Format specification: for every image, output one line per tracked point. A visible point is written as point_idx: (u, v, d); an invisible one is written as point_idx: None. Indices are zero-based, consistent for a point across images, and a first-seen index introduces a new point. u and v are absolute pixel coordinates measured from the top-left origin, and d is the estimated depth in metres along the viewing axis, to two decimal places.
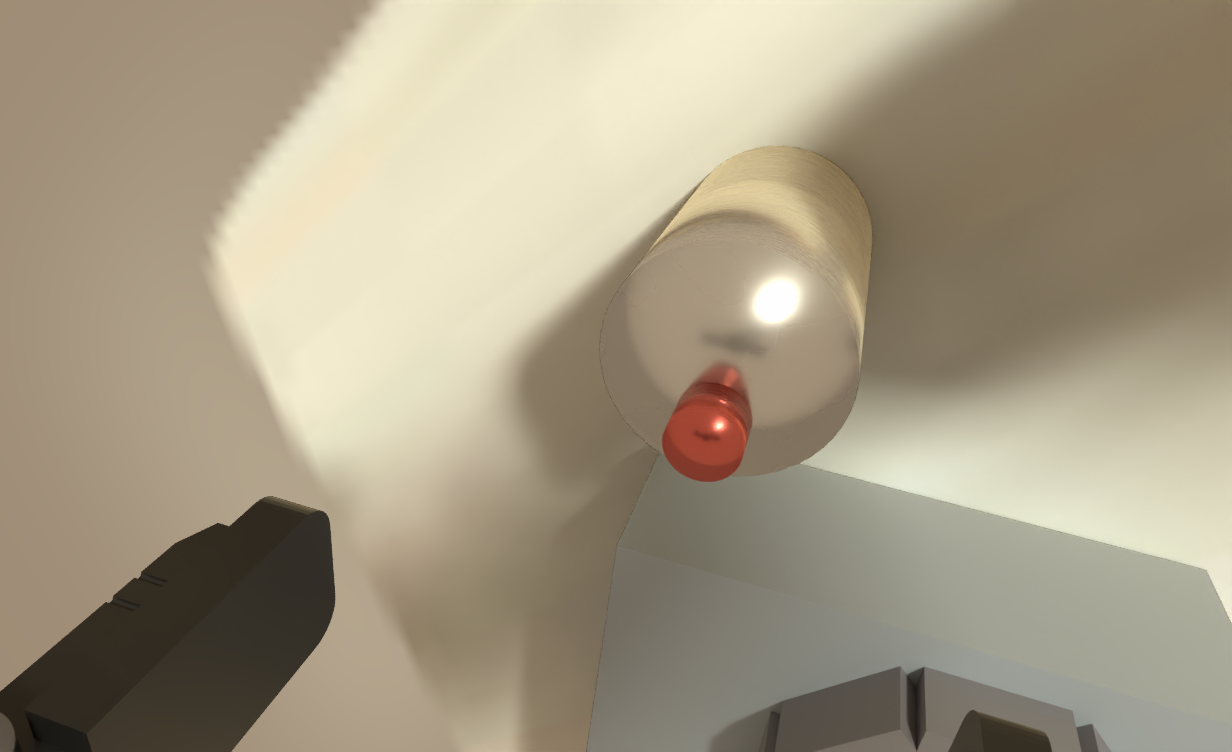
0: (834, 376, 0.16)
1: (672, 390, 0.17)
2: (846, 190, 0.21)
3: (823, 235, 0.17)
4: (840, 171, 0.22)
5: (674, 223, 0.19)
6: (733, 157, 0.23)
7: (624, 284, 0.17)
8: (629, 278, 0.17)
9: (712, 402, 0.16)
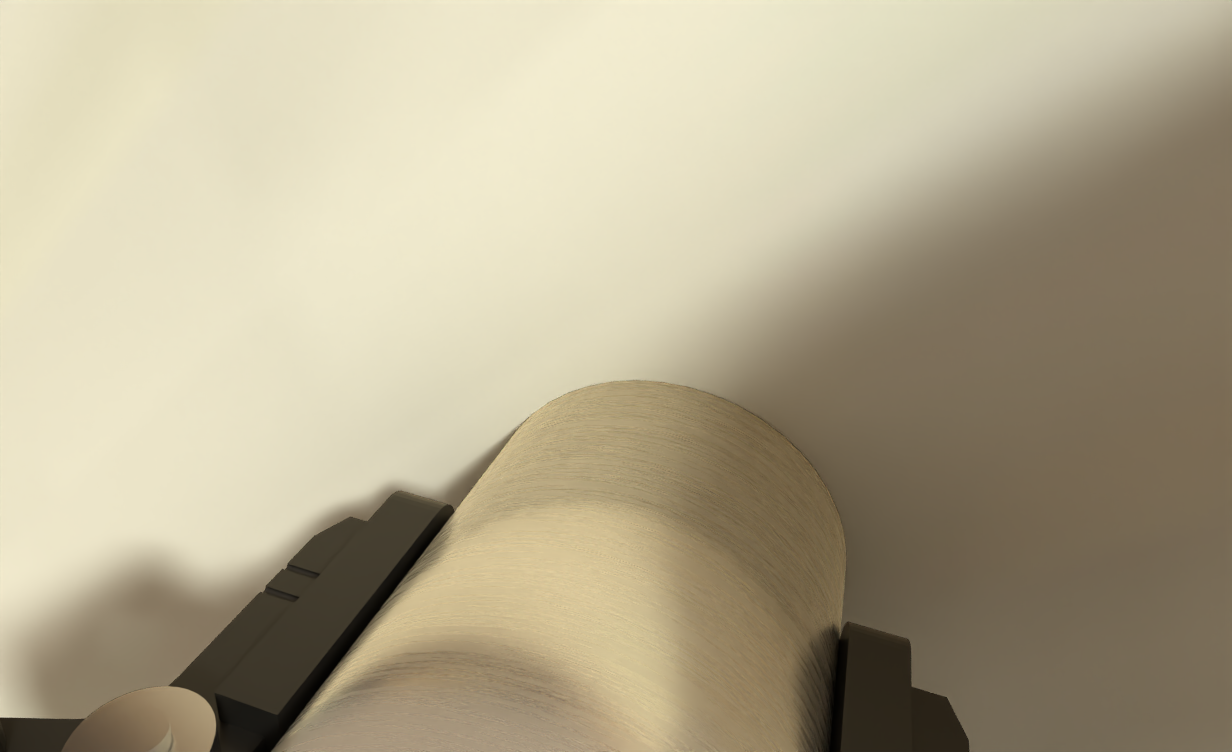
0: None
1: None
2: (784, 508, 0.10)
3: None
4: (777, 441, 0.11)
5: (319, 705, 0.07)
6: (564, 399, 0.11)
7: None
8: None
9: None
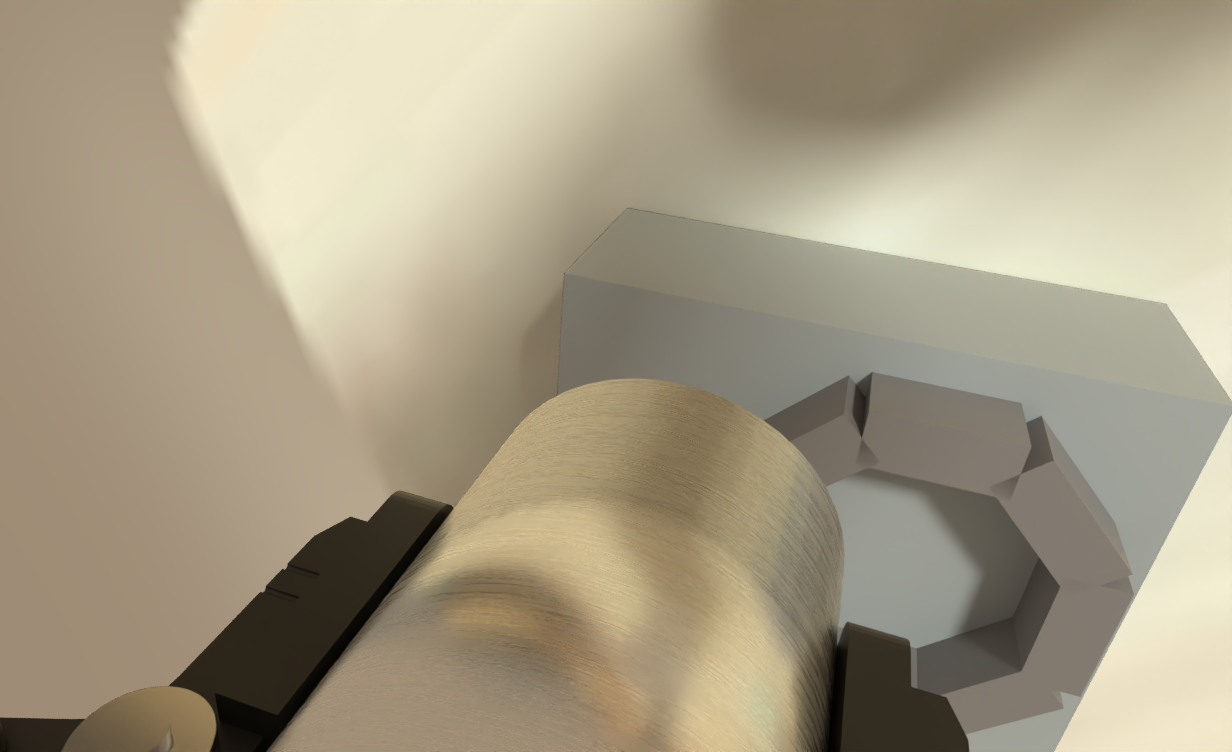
0: None
1: None
2: (782, 505, 0.10)
3: None
4: (775, 439, 0.11)
5: (316, 702, 0.07)
6: (562, 397, 0.11)
7: None
8: None
9: None
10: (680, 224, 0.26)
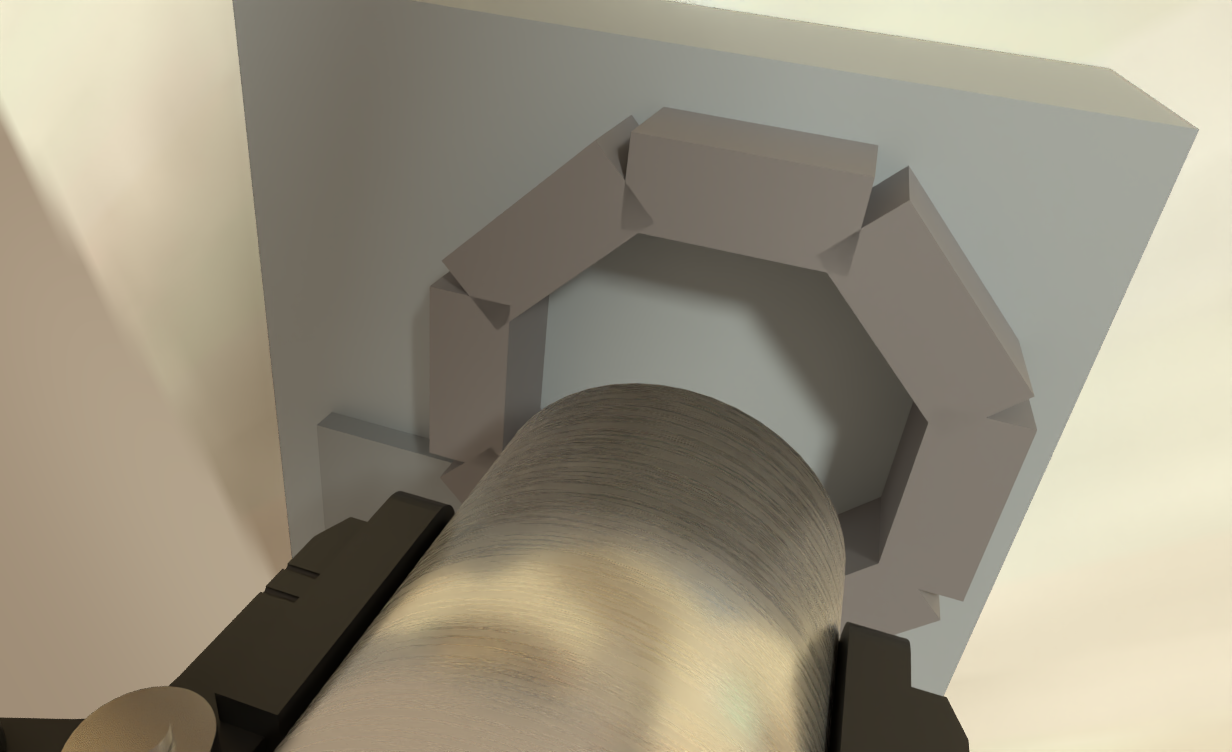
0: None
1: None
2: (783, 511, 0.10)
3: None
4: (776, 444, 0.11)
5: (319, 708, 0.07)
6: (564, 402, 0.11)
7: None
8: None
9: None
10: None
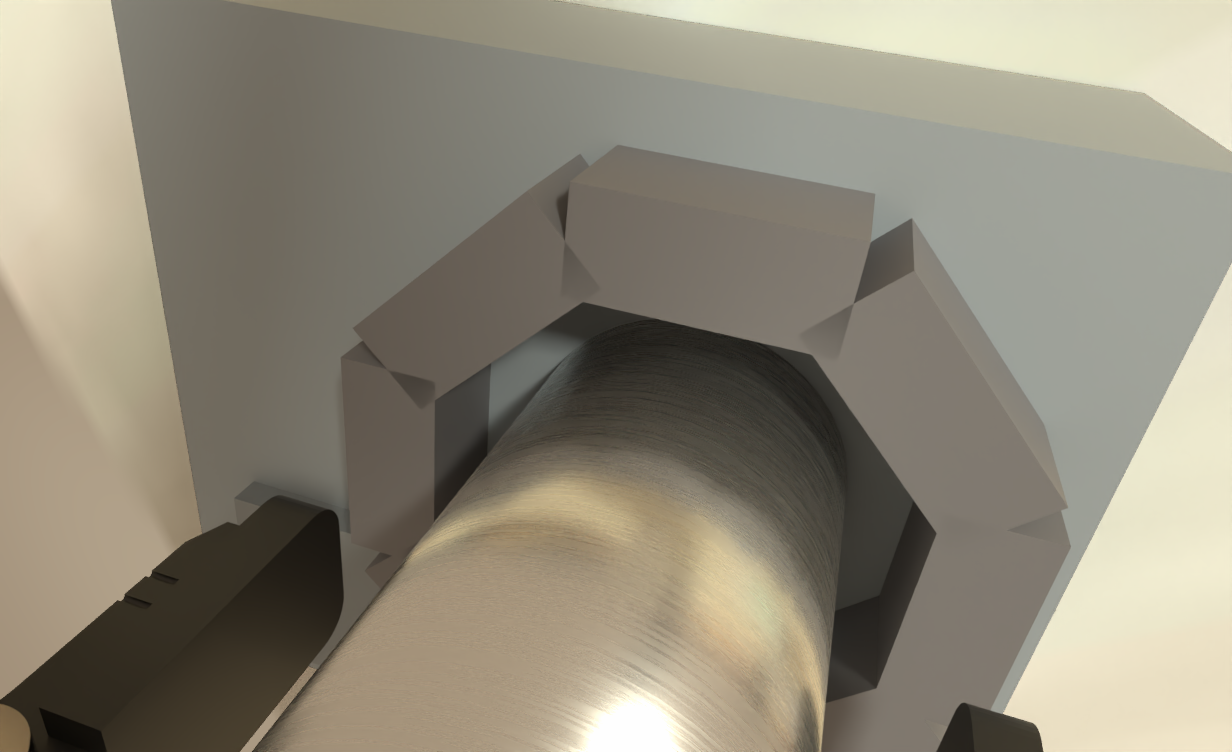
0: None
1: None
2: (793, 419, 0.11)
3: (717, 630, 0.08)
4: (786, 368, 0.12)
5: (416, 554, 0.09)
6: (600, 336, 0.13)
7: None
8: None
9: None
10: None
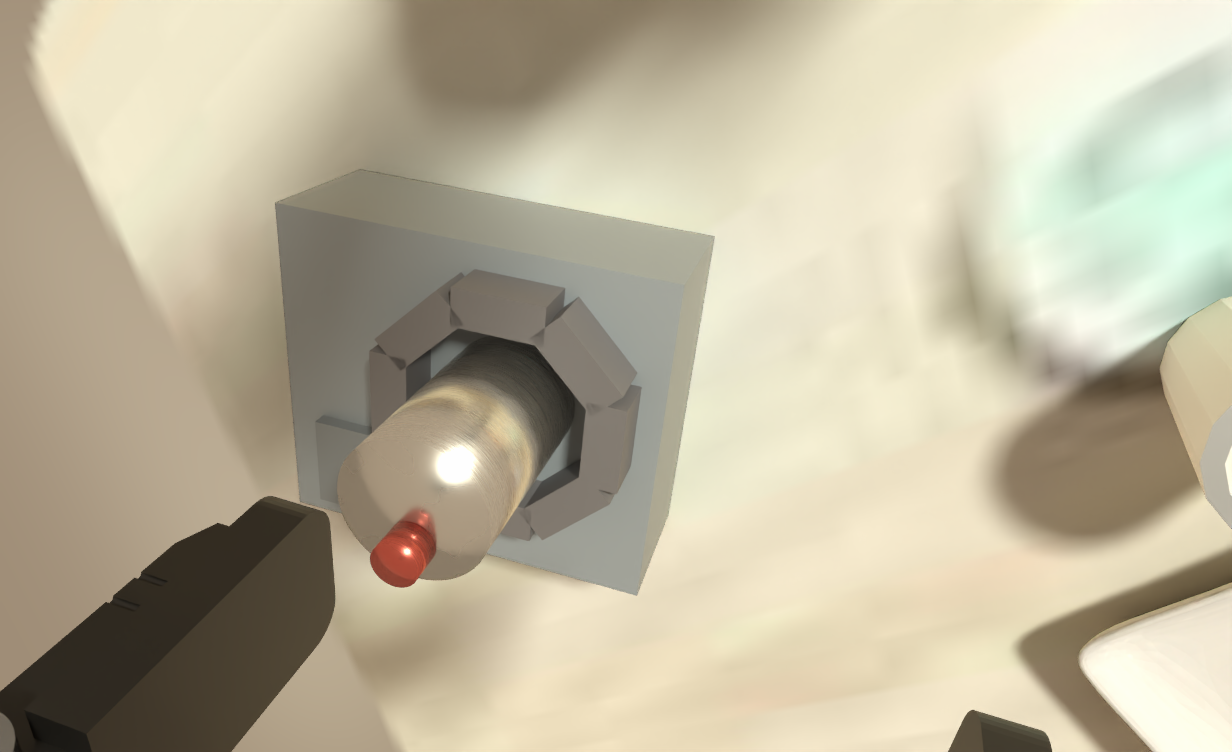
0: (476, 518, 0.25)
1: (386, 525, 0.27)
2: (539, 371, 0.30)
3: (484, 421, 0.27)
4: None
5: (398, 409, 0.28)
6: (473, 342, 0.32)
7: (345, 460, 0.26)
8: (347, 457, 0.26)
9: (400, 536, 0.25)
10: (391, 180, 0.36)
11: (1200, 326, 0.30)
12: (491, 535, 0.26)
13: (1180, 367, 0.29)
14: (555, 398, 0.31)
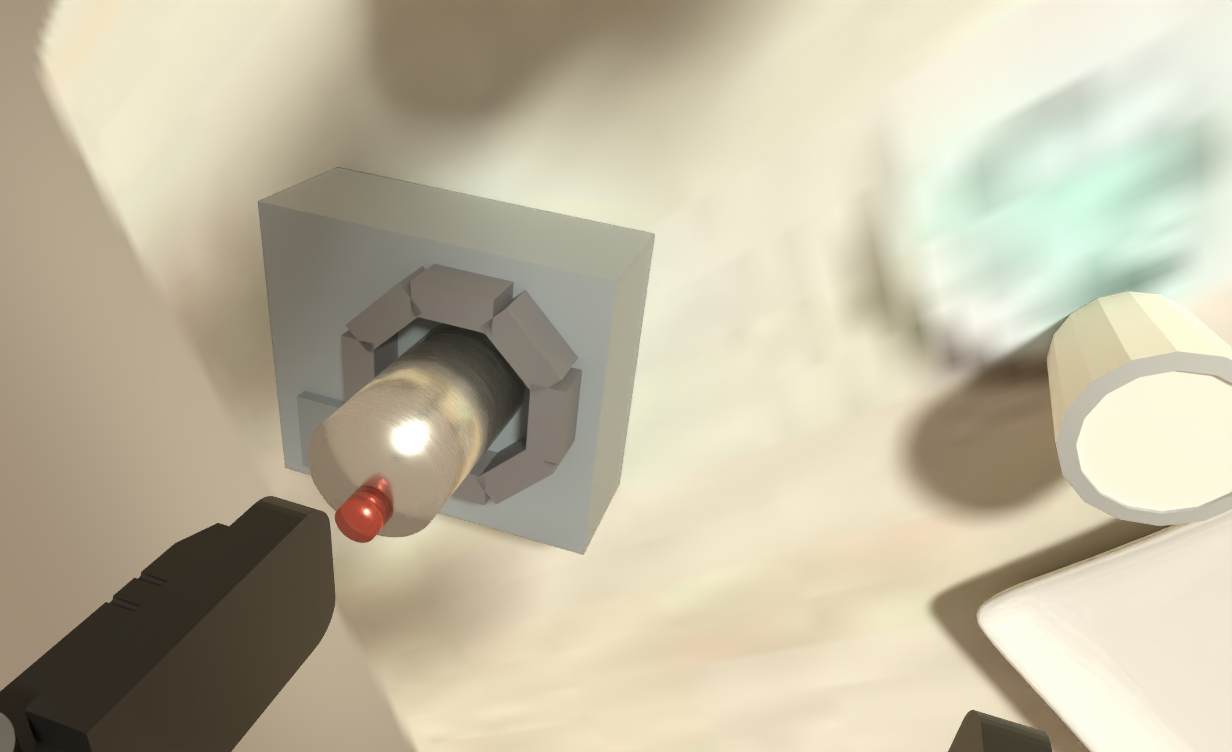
0: (425, 484, 0.29)
1: (350, 489, 0.31)
2: (490, 355, 0.34)
3: (435, 400, 0.31)
4: None
5: (362, 388, 0.32)
6: (434, 328, 0.36)
7: (314, 433, 0.30)
8: (315, 430, 0.30)
9: (360, 499, 0.30)
10: (365, 178, 0.40)
11: (1075, 322, 0.33)
12: (439, 499, 0.30)
13: (1056, 359, 0.33)
14: (504, 379, 0.34)
